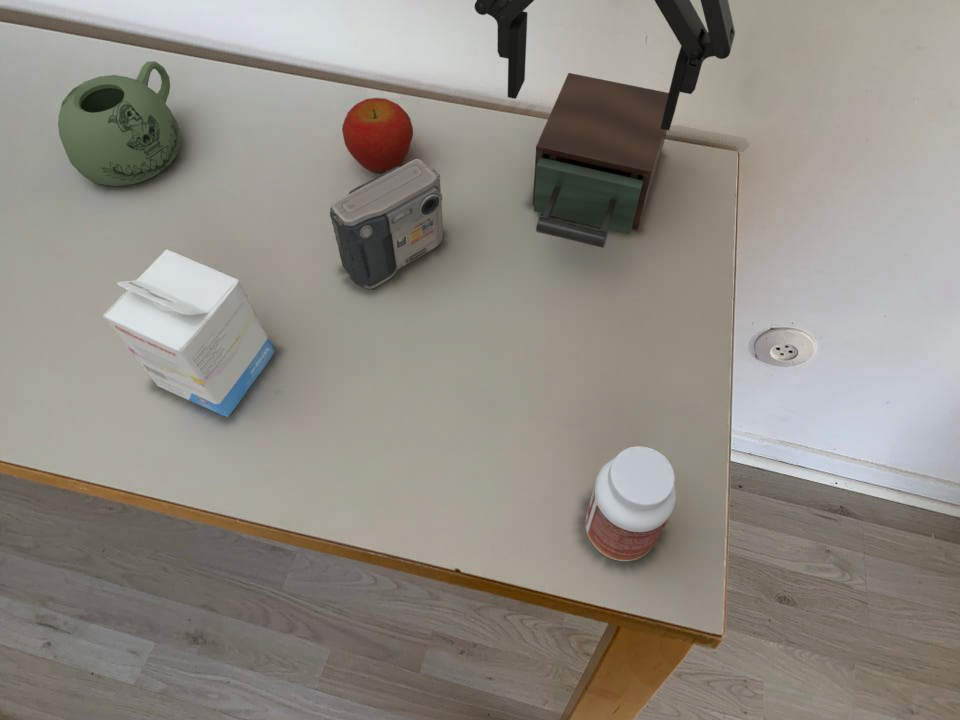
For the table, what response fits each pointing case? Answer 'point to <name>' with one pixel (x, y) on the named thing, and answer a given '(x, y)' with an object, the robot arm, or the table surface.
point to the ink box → (192, 331)
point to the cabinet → (607, 129)
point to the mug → (119, 128)
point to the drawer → (584, 199)
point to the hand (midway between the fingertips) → (590, 104)
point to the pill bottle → (631, 503)
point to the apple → (378, 134)
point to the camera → (388, 222)
